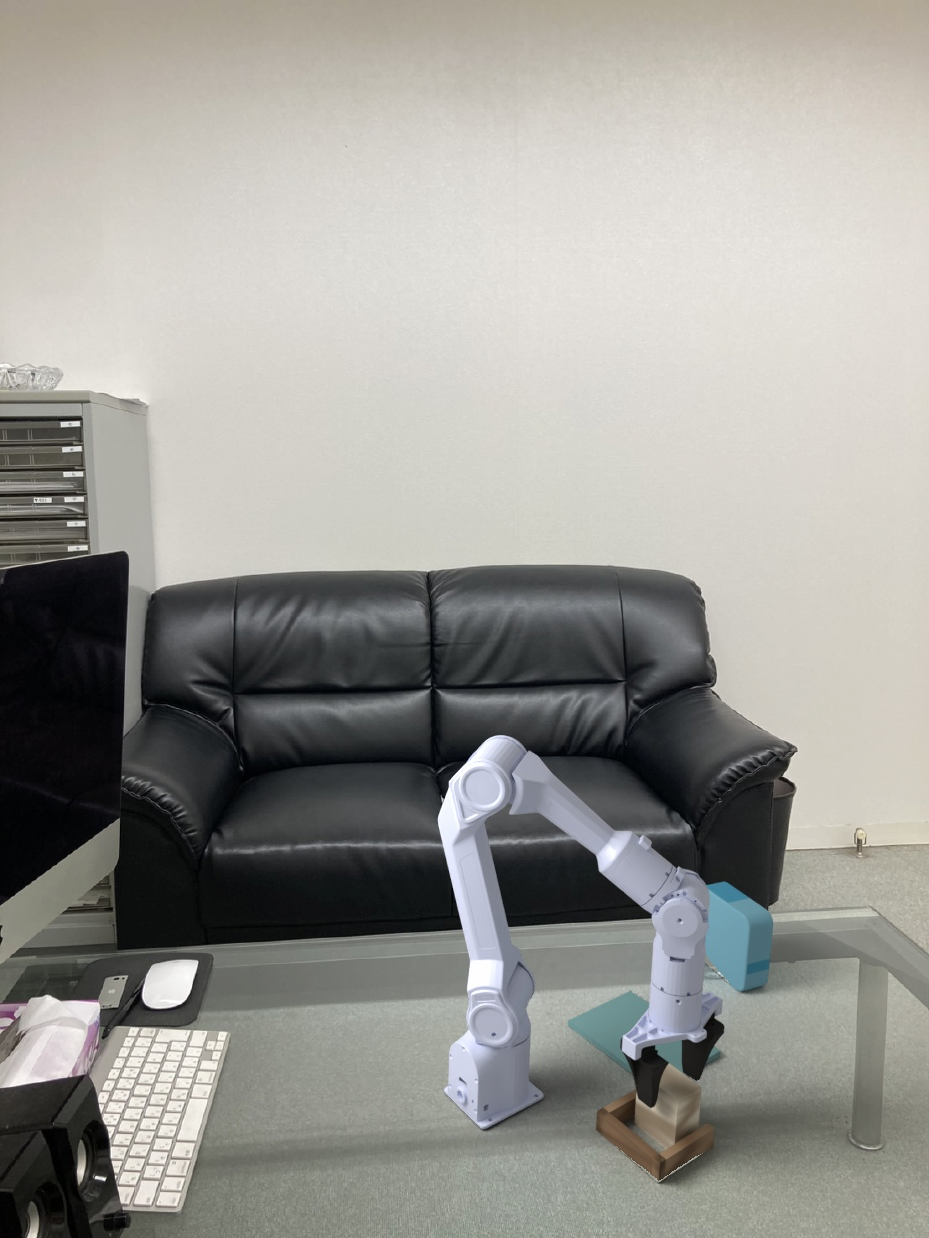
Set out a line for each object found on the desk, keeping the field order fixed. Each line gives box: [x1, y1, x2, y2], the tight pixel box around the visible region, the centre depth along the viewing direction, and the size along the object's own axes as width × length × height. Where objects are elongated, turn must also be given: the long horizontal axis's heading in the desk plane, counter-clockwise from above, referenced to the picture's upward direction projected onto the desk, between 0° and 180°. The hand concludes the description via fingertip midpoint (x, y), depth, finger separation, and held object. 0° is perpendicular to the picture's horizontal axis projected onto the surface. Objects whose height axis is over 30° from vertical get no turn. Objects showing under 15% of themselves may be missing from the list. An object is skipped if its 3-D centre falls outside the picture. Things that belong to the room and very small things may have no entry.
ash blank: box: [634, 1064, 702, 1150], centre depth 108 cm, size 4×6×7 cm, turn 36°
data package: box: [705, 881, 774, 992], centre depth 140 cm, size 12×4×12 cm, turn 23°
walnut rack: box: [595, 1088, 715, 1181], centre depth 107 cm, size 9×10×2 cm
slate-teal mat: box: [567, 990, 721, 1076], centre depth 125 cm, size 12×16×1 cm
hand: (669, 1088), depth 107 cm, fingers open, 7 cm apart
